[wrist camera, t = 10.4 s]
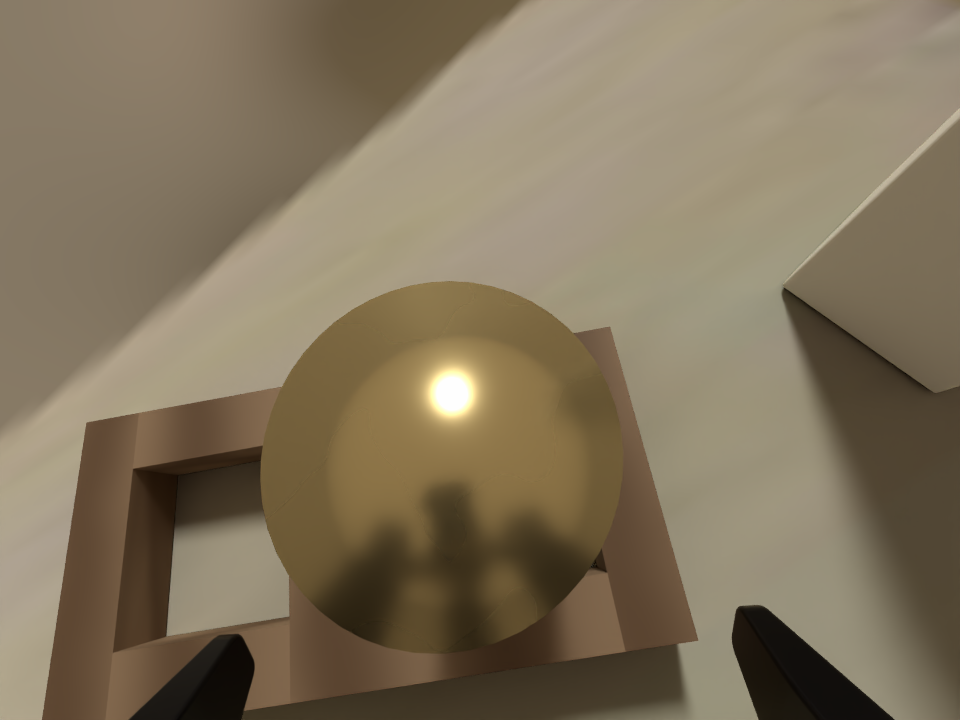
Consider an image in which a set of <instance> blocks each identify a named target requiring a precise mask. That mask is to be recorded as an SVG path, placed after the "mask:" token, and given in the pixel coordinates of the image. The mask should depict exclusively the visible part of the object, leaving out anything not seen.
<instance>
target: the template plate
mask: <svg viewBox="0 0 960 720" xmlns="http://www.w3.org/2000/svg"><path fill="white" fill-rule="evenodd" d="M573 334H574V335H575V336H576V337H577V338H578V339H579V340H580V341H581V342H582V344H583V345H584V346H585V348H586V349H587V350H588V352H589V353H590V355H591V356H592V357H593V359H594V360H595V361H596V363H597V365H598V367H599V369H600V371H601V372H602V374H603V376H604V378H605V380H606V382H607V384H608V387H609V389H610V392H611V395H612V397H613V400H614V402H615V406H616V410H617V414H618V418H619V423H620V427H621V435H622V445H623V476H622V484H621V490H620V496H619V502H618V506H617V509H616V512H615V516H614V519H613V522H612V525H611V529H610V531H609V533H608V535H607V537H606V540H605V542H604V544H603V546H602V548H601V550H600V552H599V554H598V556H597V557H596V559H595V560H596V564H597V567H592V568H589V570H588V571H587V573H586V574H585V576H584V577H583V579H582V580H581V581H580V582H579V583H578V584H577V586H576V587H575V588H574V589H573V590H572V591H571V592H570V594H569V595H568V596H567V597H566V598H565V599H564V600H563V601H562V602H561V603H559V604H558V605H557V606H556V607H555V608H554V609H552V610H551V611H550V612H549V613H548V614H547V615H546V616H544V617H543V618H541V619H540V620H538V621H537V622H535V623H533V624H532V625H530V626H529V627H527V628H526V629H524V630H523V631H521V632H519V633H517V634H514V635H512V636H510V637H508V638H506V639H503V640H501V641H499V642H497V643H494V644H490V645H487V646H483V647H480V648H476V649H472V650H469V651H461V652H453V653H445V654H430V653H412V652H406V651H401V650H396V649H390V648H387V647H384V646H381V645H378V644H375V643H372V642H370V641H367V640H364V639H362V638H360V637H358V636H356V635H355V634H353V633H351V632H349V631H347V630H345V629H343V628H341V627H340V626H339V625H337V624H336V623H335V622H333V621H332V620H331V619H329V618H328V617H327V616H325V615H324V614H323V613H321V612H320V611H319V610H318V609H317V608H316V607H315V606H314V605H313V604H312V603H311V602H310V601H309V600H308V599H307V598H306V597H305V596H304V595H303V594H302V592H301V591H300V590H299V588H298V587H297V585H296V584H295V583H294V581H293V580H292V579H291V577H290V576H289V613H290V617H285V618H278V619H272V620H266V621H260V622H254V623H248V624H242V625H235V626H229V627H223V628H217V629H211V630H205V631H198V632H192V633H186V634H180V635H174V636H168V637H166V625H167V612H168V599H169V585H170V572H171V559H172V546H173V532H174V519H175V506H176V492H177V479H178V475H182V474H187V473H193V472H199V471H204V470H210V469H216V468H221V467H227V466H233V465H238V464H244V463H250V462H255V461H261V455H262V448H263V442H264V436H265V432H266V428H267V425H268V421H269V418H270V414H271V411H272V409H273V406H274V404H275V401H276V399H277V397H278V394H279V392H280V390H281V388H282V387H278V388H273V389H267V390H262V391H257V392H251V393H246V394H240V395H235V396H229V397H224V398H218V399H213V400H207V401H202V402H197V403H191V404H186V405H180V406H175V407H169V408H164V409H158V410H153V411H147V412H142V413H137V414H131V415H126V416H120V417H115V418H109V419H104V420H98V421H93V422H87V423H86V430H85V436H84V443H83V450H82V456H81V463H80V470H79V476H78V483H77V490H76V496H75V503H74V510H73V516H72V523H71V530H70V536H69V543H68V550H67V556H66V563H65V570H64V576H63V583H62V590H61V596H60V603H59V610H58V616H57V623H56V630H55V636H54V643H53V650H52V656H51V663H50V670H49V677H48V683H47V690H46V697H45V703H44V710H43V717H42V720H128V719H129V718H130V717H132V716H133V715H134V714H135V713H136V712H137V711H138V710H139V709H140V708H141V707H142V706H143V705H144V704H145V703H146V702H147V701H148V700H149V699H150V698H151V697H152V696H154V695H155V694H156V693H157V692H158V691H159V690H160V689H161V688H162V687H163V686H164V685H165V684H166V683H167V682H168V681H169V680H170V679H171V678H172V677H173V676H175V675H176V674H177V673H178V672H179V671H180V670H181V669H182V668H183V667H184V666H185V665H186V664H187V663H188V662H189V661H190V660H191V659H192V658H193V657H194V656H195V655H197V654H198V653H199V652H200V651H201V650H202V649H203V648H204V647H205V646H206V645H207V644H208V643H209V642H210V641H211V640H212V639H214V638H215V637H217V636H219V635H222V634H240V635H241V636H242V637H243V638H244V640H245V642H246V644H247V646H248V648H249V650H250V652H251V654H252V656H253V658H254V662H255V671H254V676H253V680H252V684H251V687H250V691H249V694H248V698H247V701H246V705H245V708H244V711H246V710H252V709H259V708H265V707H272V706H278V705H285V704H291V703H298V702H304V701H311V700H317V699H323V698H330V697H336V696H343V695H349V694H356V693H362V692H369V691H375V690H382V689H388V688H395V687H401V686H408V685H414V684H420V683H427V682H433V681H440V680H446V679H453V678H459V677H466V676H472V675H479V674H485V673H492V672H498V671H505V670H511V669H517V668H524V667H530V666H537V665H543V664H550V663H556V662H563V661H569V660H576V659H582V658H589V657H595V656H602V655H608V654H614V653H621V652H627V651H634V650H640V649H647V648H653V647H660V646H666V645H673V644H679V643H686V642H692V641H698V638H697V634H696V630H695V627H694V623H693V620H692V616H691V613H690V609H689V606H688V602H687V599H686V595H685V591H684V588H683V584H682V581H681V577H680V574H679V570H678V567H677V563H676V560H675V556H674V552H673V549H672V545H671V542H670V538H669V535H668V531H667V528H666V524H665V521H664V517H663V513H662V510H661V506H660V503H659V499H658V496H657V492H656V489H655V485H654V482H653V478H652V474H651V471H650V467H649V464H648V460H647V457H646V453H645V450H644V446H643V442H642V439H641V435H640V432H639V428H638V425H637V421H636V418H635V414H634V411H633V407H632V403H631V400H630V396H629V393H628V389H627V386H626V382H625V379H624V375H623V372H622V368H621V364H620V361H619V357H618V354H617V350H616V347H615V343H614V340H613V336H612V333H611V329H610V327H606V328H600V329H595V330H589V331H584V332H578V333H573Z"/></svg>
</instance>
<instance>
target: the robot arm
mask: <svg viewBox="0 0 960 720" xmlns="http://www.w3.org/2000/svg"><path fill="white" fill-rule="evenodd" d="M732 644H733V649H734V652H735V655H736V658H737V660H738V663H739V666H740V669H741V672H742V674H743V677H744V680H745V683H746V686H747V688H748V691H749V694H750V697H751V700H752V702H753V705H754V708H755V711H756V713H757V716H758V719H759V720H894V719H893V718H892V717H891V716H890V715H889V714H888V713H886V712H885V711H884V710H883V709H882V708H881V707H880V706H878V705H877V704H876V703H875V702H874V701H873V700H872V699H870V698H869V697H868V696H867V695H866V694H865V693H863V692H862V691H861V690H860V689H859V688H858V687H857V686H855V685H854V684H853V683H852V682H851V681H850V680H849V679H847V678H846V677H845V676H844V675H843V674H842V673H841V672H839V671H838V670H837V669H836V668H835V667H834V666H832V665H831V664H830V663H829V662H828V661H827V660H826V659H824V658H823V657H822V656H821V655H820V654H819V653H818V652H816V651H815V650H814V649H813V648H812V647H811V646H810V645H808V644H807V643H806V642H805V641H804V640H803V639H801V638H800V637H799V636H798V635H797V634H796V633H795V632H793V631H792V630H791V629H790V628H789V627H788V626H787V625H785V624H784V623H783V622H782V621H781V620H780V619H779V618H777V617H776V616H775V615H774V614H773V613H772V612H770V611H769V610H768V609H767V608H765V607H763V606H761V605H749V606H739V607H738V608H737V610H736V613H735V620H734V626H733V632H732ZM254 671H255V662H254V658H253V656H252V654H251V652H250V650H249V648H248V646H247V644H246V642H245V640H244V638H243V637H242V636H241V635H240V634H222V635H219V636H217V637H215V638H214V639H212V640H211V641H210V642H209V643H208V644H207V645H206V646H205V647H204V648H203V649H202V650H201V651H200V652H199V653H198V654H197V655H195V656H194V657H193V658H192V659H191V660H190V661H189V662H188V663H187V664H186V665H185V666H184V667H183V668H182V669H181V670H180V671H179V672H178V673H177V674H176V675H175V676H173V677H172V678H171V679H170V680H169V681H168V682H167V683H166V684H165V685H164V686H163V687H162V688H161V689H160V690H159V691H158V692H157V693H156V694H155V695H154V696H152V697H151V698H150V699H149V700H148V701H147V702H146V703H145V704H144V705H143V706H142V707H141V708H140V709H139V710H138V711H137V712H136V713H135V714H134V715H133V716H132V717H130V718H129V719H128V720H241V719H242V715H243V712H244V708H245V705H246V701H247V698H248V694H249V691H250V687H251V684H252V680H253V676H254Z"/></svg>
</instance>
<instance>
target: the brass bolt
mask: <svg viewBox="0 0 960 720" xmlns="http://www.w3.org/2000/svg"><path fill="white" fill-rule="evenodd" d="M622 476H623V445H622V435H621V427H620V423H619V418H618V414H617V410H616V406H615V402H614V400H613V397H612V395H611V392H610V389H609V387H608V384H607V382H606V380H605V378H604V376H603V374H602V372H601V371H600V369H599V367H598V365H597V363H596V361H595V360H594V359H593V357H592V356H591V355H590V353H589V352H588V350H587V349H586V348H585V346H584V345H583V344H582V342H581V341H580V340H579V339H578V338H577V337H576V336H575V335H574V334H573V333H572V332H571V331H570V330H569V329H568V328H567V327H566V326H565V325H564V324H563V323H561V322H560V321H559V320H558V319H557V318H555V317H554V316H553V315H552V314H550V313H549V312H547V311H546V310H544V309H543V308H541V307H539V306H538V305H536V304H535V303H533V302H531V301H529V300H527V299H525V298H522V297H520V296H518V295H516V294H514V293H511V292H508V291H505V290H502V289H499V288H495V287H492V286H487V285H482V284H476V283H469V282H454V281H448V282H430V283H424V284H418V285H412V286H408V287H404V288H401V289H397V290H394V291H391V292H388V293H386V294H383V295H381V296H378V297H376V298H374V299H371V300H369V301H367V302H366V303H364V304H362V305H360V306H358V307H357V308H355V309H353V310H351V311H350V312H348V313H347V314H346V315H344V316H343V317H341V318H340V319H339V320H337V321H336V322H334V323H333V324H332V325H331V326H330V327H329V328H328V329H327V330H325V331H324V332H323V333H322V334H321V335H320V336H319V337H318V338H317V339H316V340H315V341H314V342H313V343H312V344H311V346H310V347H309V348H308V349H307V350H306V351H305V352H304V353H303V355H302V356H301V358H300V359H299V360H298V362H297V363H296V365H295V366H294V367H293V369H292V370H291V372H290V374H289V375H288V377H287V379H286V381H285V383H284V384H283V386H282V388H281V390H280V392H279V394H278V397H277V399H276V401H275V404H274V406H273V409H272V411H271V414H270V418H269V421H268V425H267V428H266V432H265V436H264V442H263V448H262V455H261V473H260V484H261V495H262V506H263V510H264V515H265V519H266V524H267V528H268V531H269V534H270V536H271V539H272V542H273V545H274V547H275V550H276V552H277V554H278V556H279V558H280V560H281V562H282V564H283V566H284V567H285V569H286V571H287V573H288V575H289V576H290V577H291V579H292V580H293V581H294V583H295V584H296V585H297V587H298V588H299V590H300V591H301V592H302V594H303V595H304V596H305V597H306V598H307V599H308V600H309V601H310V602H311V603H312V604H313V605H314V606H315V607H316V608H317V609H318V610H319V611H320V612H321V613H323V614H324V615H325V616H327V617H328V618H329V619H331V620H332V621H333V622H335V623H336V624H337V625H339V626H340V627H341V628H343V629H345V630H347V631H349V632H351V633H353V634H355V635H356V636H358V637H360V638H362V639H364V640H367V641H370V642H372V643H375V644H378V645H381V646H384V647H387V648H390V649H396V650H401V651H406V652H412V653H430V654H445V653H453V652H461V651H469V650H472V649H476V648H480V647H483V646H487V645H490V644H494V643H497V642H499V641H501V640H503V639H506V638H508V637H510V636H512V635H514V634H517V633H519V632H521V631H523V630H524V629H526V628H527V627H529V626H530V625H532V624H533V623H535V622H537V621H538V620H540V619H541V618H543V617H544V616H546V615H547V614H548V613H549V612H550V611H551V610H552V609H554V608H555V607H556V606H557V605H558V604H559V603H561V602H562V601H563V600H564V599H565V598H566V597H567V596H568V595H569V594H570V592H571V591H572V590H573V589H574V588H575V587H576V586H577V584H578V583H579V582H580V581H581V580H582V579H583V577H584V576H585V574H586V573H587V571H588V570H589V568H590V567H591V565H592V564H593V562H594V561H595V559H596V557H597V556H598V554H599V552H600V550H601V548H602V546H603V544H604V542H605V540H606V537H607V535H608V533H609V531H610V529H611V525H612V522H613V519H614V516H615V512H616V509H617V506H618V502H619V496H620V490H621V484H622Z"/></svg>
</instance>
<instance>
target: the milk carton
mask: <svg viewBox="0 0 960 720" xmlns="http://www.w3.org/2000/svg"><path fill="white" fill-rule="evenodd" d="M783 287H785V288H786V289H787V290H789V291H790V292H792V293H793V294H794V295H796V296H797V297H799V298H800V299H801V300H803V301H804V302H806V303H807V304H808V305H810V306H811V307H813V308H814V309H816V310H817V311H818V312H820V313H821V314H823V315H824V316H825V317H827V318H828V319H830V320H831V321H833V322H834V323H835V324H837V325H838V326H840V327H841V328H842V329H844V330H845V331H847V332H848V333H850V334H851V335H852V336H854V337H855V338H857V339H858V340H859V341H861V342H862V343H864V344H865V345H867V346H868V347H869V348H871V349H872V350H874V351H875V352H877V353H878V354H879V355H881V356H882V357H884V358H885V359H887V360H888V361H889V362H891V363H892V364H894V365H895V366H896V367H898V368H899V369H901V370H902V371H904V372H905V373H906V374H908V375H909V376H911V377H912V378H914V379H915V380H916V381H918V382H919V383H921V384H922V385H924V386H925V387H926V388H928V389H929V390H931V391H932V392H934V393H939V392H942V391H945V390H948V389H952V388H955V387H958V386H960V108H959V109H958V110H957V111H956V112H955V113H954V114H953V115H952V116H951V117H950V118H949V119H948V120H947V121H946V122H945V123H944V124H943V125H942V126H941V127H940V128H939V129H938V130H937V131H935V132H934V133H933V134H932V135H931V136H930V137H929V138H928V139H927V140H926V141H925V142H924V143H923V144H922V145H921V146H920V147H919V148H918V149H917V150H916V151H915V152H914V153H913V154H912V155H911V156H910V157H909V158H908V159H907V160H906V161H905V162H903V163H902V164H901V165H900V166H899V167H898V168H897V169H896V170H895V171H894V172H893V173H892V174H891V175H890V176H889V177H888V178H887V179H886V180H885V181H884V182H883V183H882V184H881V185H880V186H879V187H878V188H877V189H876V190H875V191H874V192H872V193H871V194H870V195H869V196H868V197H867V198H866V199H865V200H864V201H863V202H862V203H861V204H860V205H859V206H858V207H857V208H856V209H855V210H854V211H853V213H852V214H851V215H850V216H849V217H848V218H847V219H846V220H845V221H844V222H843V223H842V224H841V225H840V226H839V227H838V228H837V229H836V230H835V231H834V232H833V233H832V234H831V235H830V236H829V237H828V238H827V239H826V240H825V241H824V242H823V243H822V244H821V245H820V246H819V247H818V248H817V249H816V250H815V251H814V252H813V253H812V254H811V255H810V256H809V257H808V258H807V259H806V260H805V261H804V262H803V263H802V264H801V265H800V266H799V267H798V268H797V269H796V270H795V271H794V272H793V273H792V274H791V275H790V276H789V278H788V279H787V280H786V281H785V282H784V283H783Z"/></svg>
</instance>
